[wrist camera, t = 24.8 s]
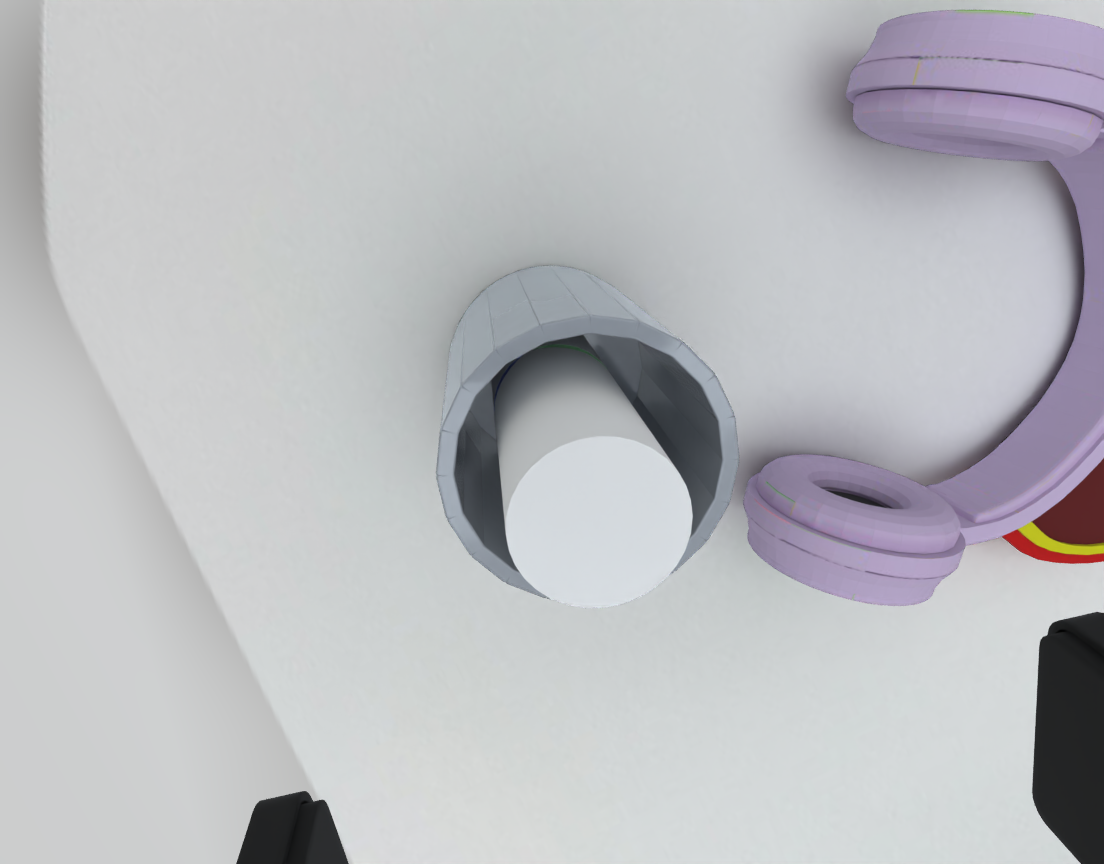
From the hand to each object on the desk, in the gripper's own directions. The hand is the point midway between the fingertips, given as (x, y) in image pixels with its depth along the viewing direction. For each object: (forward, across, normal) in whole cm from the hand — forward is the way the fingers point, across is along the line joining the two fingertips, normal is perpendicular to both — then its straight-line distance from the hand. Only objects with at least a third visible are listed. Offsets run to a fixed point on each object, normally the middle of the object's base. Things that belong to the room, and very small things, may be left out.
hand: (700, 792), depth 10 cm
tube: (+23, 0, 0) cm, 23 cm away
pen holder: (+24, -1, +1) cm, 24 cm away
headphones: (+24, -20, +3) cm, 31 cm away
